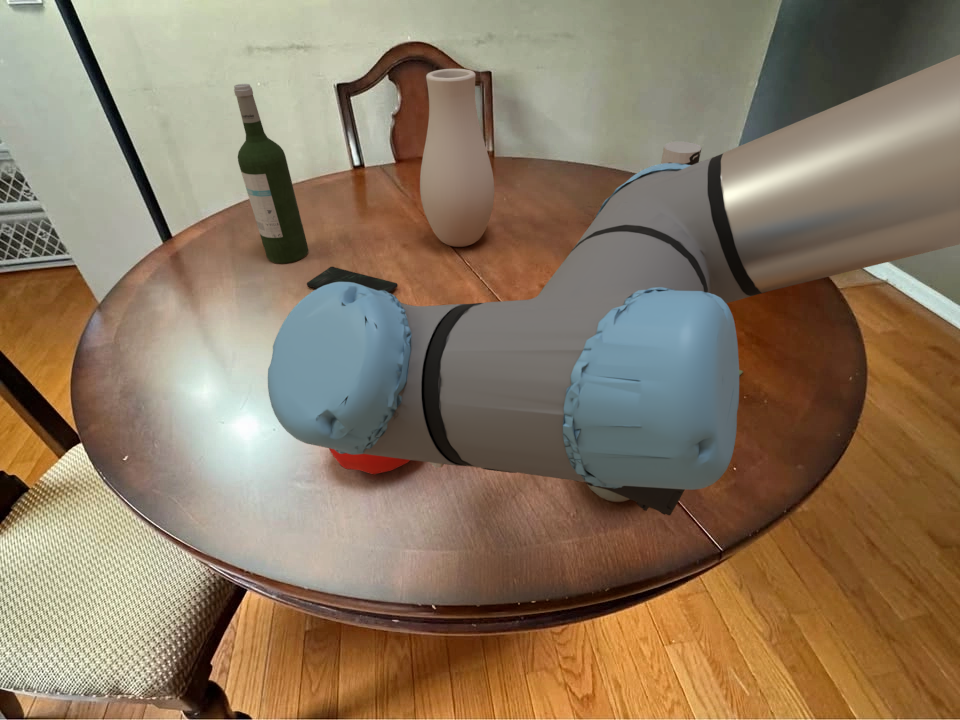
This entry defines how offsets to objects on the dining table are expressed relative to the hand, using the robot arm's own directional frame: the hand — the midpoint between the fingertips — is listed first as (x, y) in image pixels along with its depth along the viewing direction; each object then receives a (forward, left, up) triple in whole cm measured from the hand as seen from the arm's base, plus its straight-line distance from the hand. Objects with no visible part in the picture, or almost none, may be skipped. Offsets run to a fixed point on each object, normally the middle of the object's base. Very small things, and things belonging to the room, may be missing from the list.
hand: (600, 444), depth 54 cm
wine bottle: (+77, -8, -9) cm, 78 cm away
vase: (+56, -34, -9) cm, 66 cm away
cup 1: (0, -4, -9) cm, 10 cm away
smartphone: (+57, -9, -9) cm, 58 cm away
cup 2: (+30, -68, -9) cm, 75 cm away
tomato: (+23, +10, -9) cm, 27 cm away
